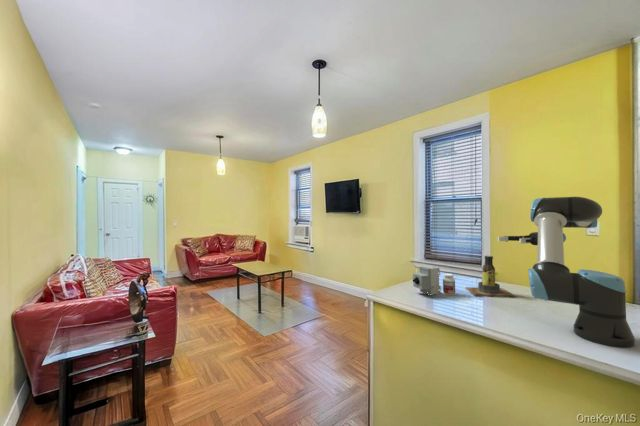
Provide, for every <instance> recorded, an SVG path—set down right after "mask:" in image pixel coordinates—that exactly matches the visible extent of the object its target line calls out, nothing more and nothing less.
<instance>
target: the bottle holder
mask: <svg viewBox="0 0 640 426" xmlns="http://www.w3.org/2000/svg"><path fill="white" fill-rule="evenodd" d="M477 286H478V287H471V286H470V287H469V286H466V287H465V290H466V291H467V290H468V291H469V293H470V294H471V295H472V294H473V295H472V296H473V297H482V296H487V298H489V297H490V298H494V297H495V298H516V295H515V294H514V293H512V292H510V291H508V290H507V289H505V288H503V287H501V286H500V284H499V283H496V282H495V286H488V285H483V284H482V281H479V282H478V283H477ZM468 291H467V292H468Z"/></svg>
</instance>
